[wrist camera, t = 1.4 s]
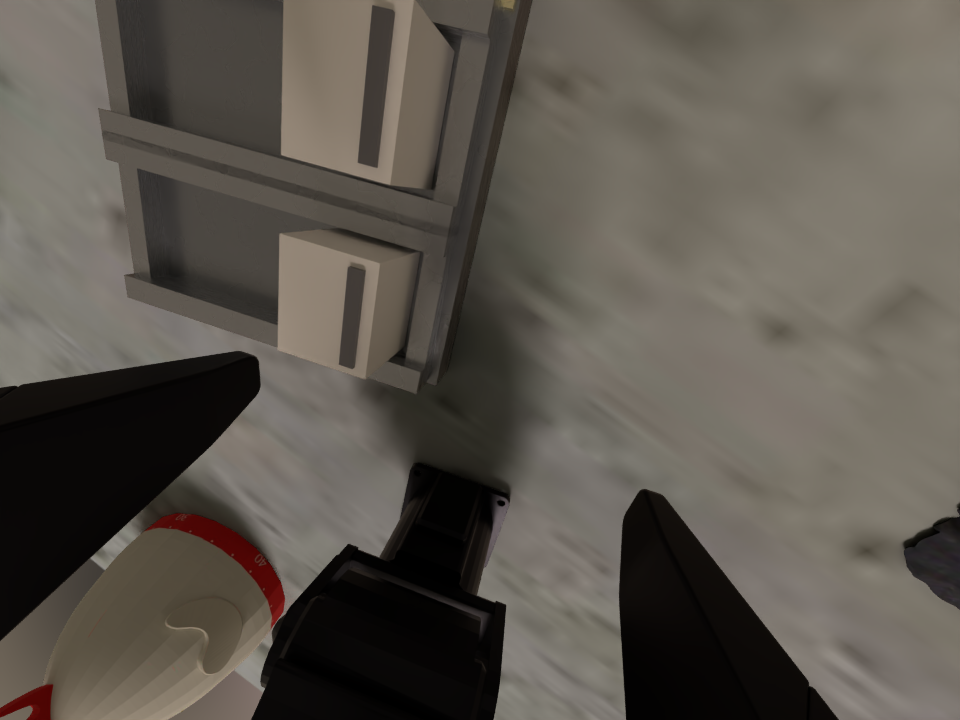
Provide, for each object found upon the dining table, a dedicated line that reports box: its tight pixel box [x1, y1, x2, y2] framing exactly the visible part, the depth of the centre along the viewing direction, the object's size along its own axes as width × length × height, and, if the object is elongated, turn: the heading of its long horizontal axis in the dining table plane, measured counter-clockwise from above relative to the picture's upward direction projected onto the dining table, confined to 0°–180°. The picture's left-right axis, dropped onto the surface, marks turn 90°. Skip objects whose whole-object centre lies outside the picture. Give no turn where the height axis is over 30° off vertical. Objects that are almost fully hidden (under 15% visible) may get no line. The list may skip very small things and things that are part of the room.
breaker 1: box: [281, 0, 455, 190], centre depth 13 cm, size 5×4×4 cm
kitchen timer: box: [0, 513, 285, 720], centre depth 28 cm, size 14×14×15 cm
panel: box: [95, 0, 532, 394], centre depth 16 cm, size 21×18×4 cm
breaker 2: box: [278, 228, 420, 379], centre depth 16 cm, size 5×4×4 cm
